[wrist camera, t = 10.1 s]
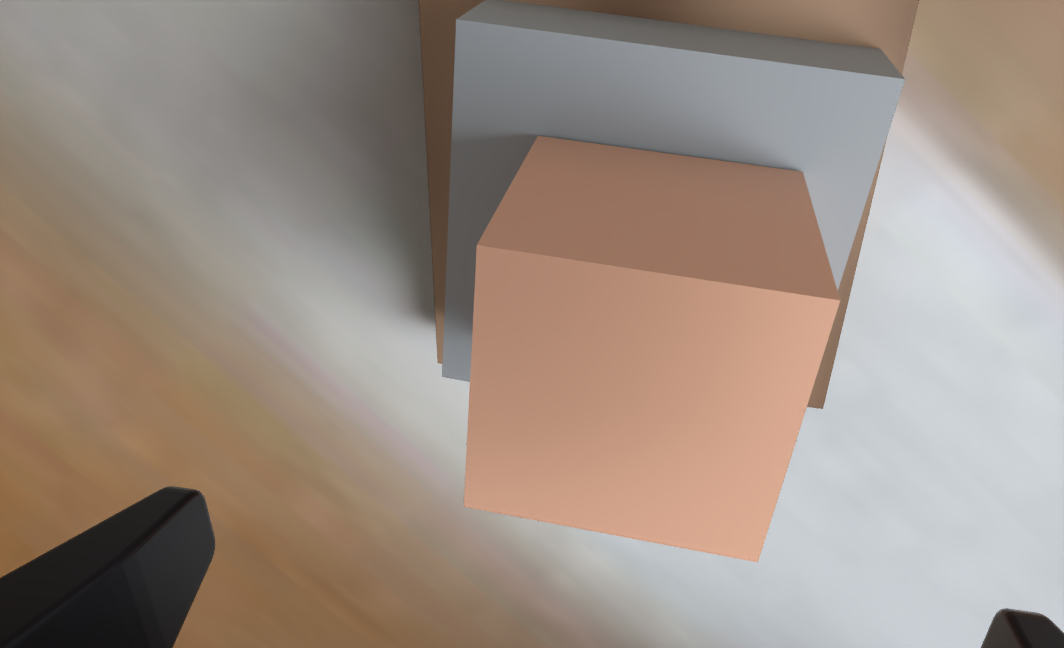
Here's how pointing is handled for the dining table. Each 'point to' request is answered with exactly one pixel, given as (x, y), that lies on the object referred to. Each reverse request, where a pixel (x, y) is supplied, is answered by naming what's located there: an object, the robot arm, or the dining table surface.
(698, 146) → the top block
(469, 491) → the terracotta cube
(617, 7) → the bottom block
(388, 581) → the dining table surface
